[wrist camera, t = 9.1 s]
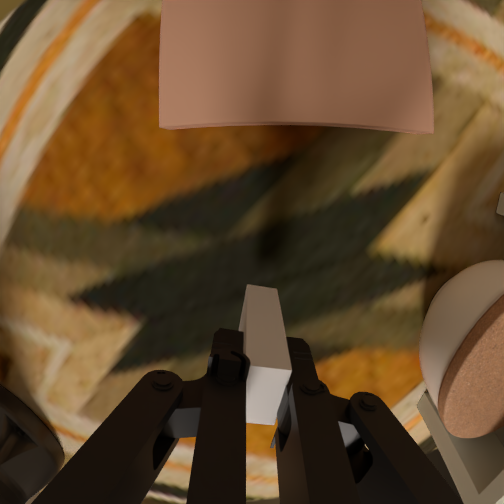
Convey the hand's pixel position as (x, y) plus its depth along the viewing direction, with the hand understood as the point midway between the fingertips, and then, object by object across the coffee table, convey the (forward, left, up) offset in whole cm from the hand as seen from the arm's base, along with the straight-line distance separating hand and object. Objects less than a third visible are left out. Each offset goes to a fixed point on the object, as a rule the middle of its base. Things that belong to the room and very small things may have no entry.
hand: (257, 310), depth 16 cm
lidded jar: (+15, 0, -3) cm, 15 cm away
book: (0, +14, -3) cm, 15 cm away
